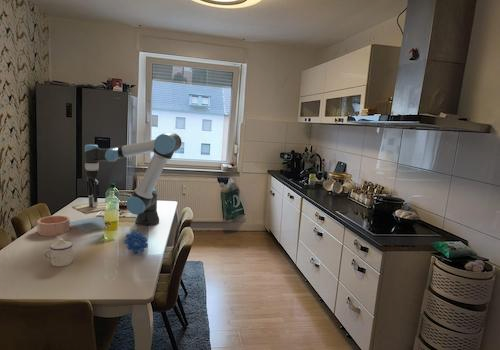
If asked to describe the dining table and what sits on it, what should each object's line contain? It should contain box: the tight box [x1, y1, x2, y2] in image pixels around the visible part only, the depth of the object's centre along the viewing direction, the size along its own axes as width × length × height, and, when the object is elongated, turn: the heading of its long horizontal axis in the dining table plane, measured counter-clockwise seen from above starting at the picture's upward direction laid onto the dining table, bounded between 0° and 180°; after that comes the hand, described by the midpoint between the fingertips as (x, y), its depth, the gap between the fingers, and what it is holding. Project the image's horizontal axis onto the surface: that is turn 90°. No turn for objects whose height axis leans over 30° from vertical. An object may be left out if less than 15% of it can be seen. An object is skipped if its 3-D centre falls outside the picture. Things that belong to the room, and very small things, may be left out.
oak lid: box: [71, 196, 107, 215], centre depth 208 cm, size 18×18×7 cm
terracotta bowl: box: [36, 215, 71, 237], centre depth 194 cm, size 16×16×7 cm
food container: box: [118, 191, 132, 201], centre depth 256 cm, size 12×6×10 cm, turn 84°
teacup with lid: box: [42, 238, 73, 268], centre depth 155 cm, size 12×9×12 cm
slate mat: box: [70, 216, 105, 233], centre depth 210 cm, size 22×22×1 cm
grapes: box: [124, 230, 149, 254], centre depth 171 cm, size 12×7×12 cm, turn 105°
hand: (93, 205), depth 208 cm, fingers closed on oak lid, 4 cm apart
